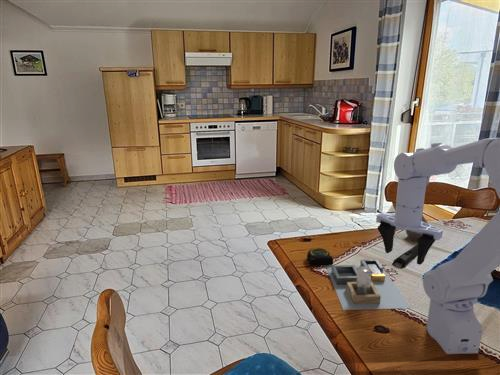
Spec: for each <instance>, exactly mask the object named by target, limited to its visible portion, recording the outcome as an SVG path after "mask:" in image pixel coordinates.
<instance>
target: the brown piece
mask: <svg viewBox="0 0 500 375" xmlns="http://www.w3.org/2000/svg"><path fill="white" fill-rule="evenodd" d="M356 283H357V282H347V291H348V293H349V295H350V298H351V300H352V302H353V304H380V299H381V296H380V294H379V293H378V291H377V289H376V288H375V286H374V284H373V283H372V281H371V284H370V293H371V295H356V293H355V291H356Z"/></svg>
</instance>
